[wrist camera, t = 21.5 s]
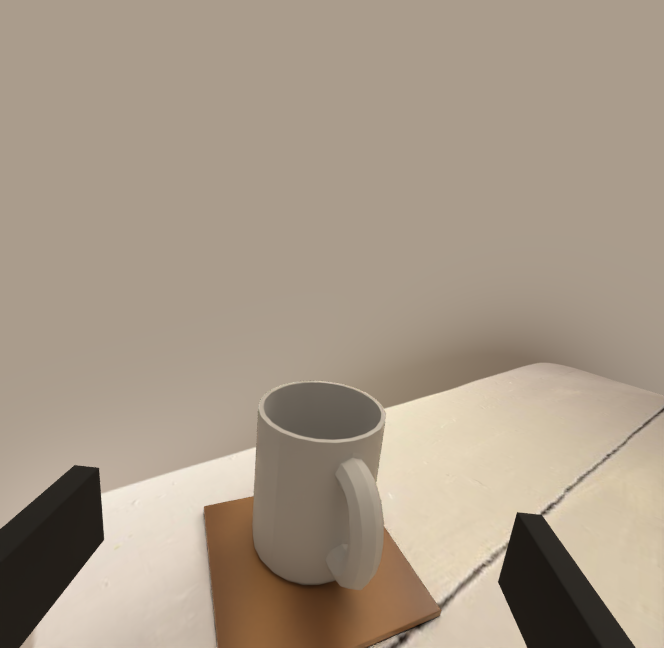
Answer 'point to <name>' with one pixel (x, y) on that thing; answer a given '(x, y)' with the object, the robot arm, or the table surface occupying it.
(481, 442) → the table surface
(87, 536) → the robot arm
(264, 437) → the cup
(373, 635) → the cork pad
